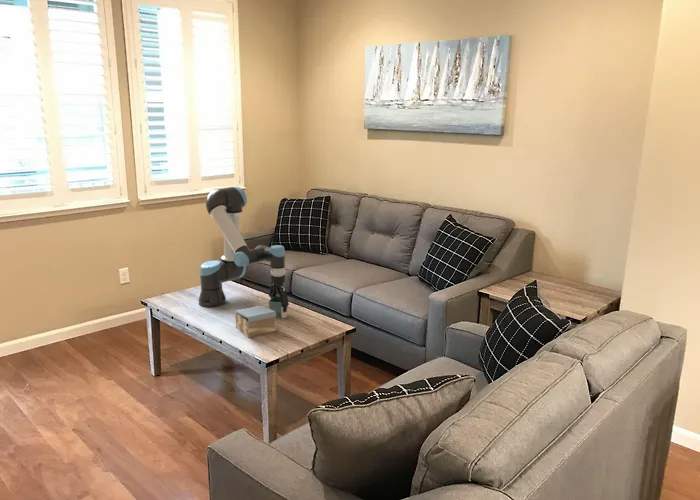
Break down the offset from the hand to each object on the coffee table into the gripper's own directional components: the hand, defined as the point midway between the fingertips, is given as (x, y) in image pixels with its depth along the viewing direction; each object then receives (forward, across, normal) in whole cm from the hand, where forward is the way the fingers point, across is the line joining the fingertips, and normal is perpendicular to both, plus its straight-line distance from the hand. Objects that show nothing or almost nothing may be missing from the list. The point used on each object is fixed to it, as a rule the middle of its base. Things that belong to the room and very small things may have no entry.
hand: (279, 313), depth 300 cm
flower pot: (+1, 0, 0) cm, 1 cm away
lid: (-7, +13, -19) cm, 24 cm away
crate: (+1, +12, -19) cm, 22 cm away
